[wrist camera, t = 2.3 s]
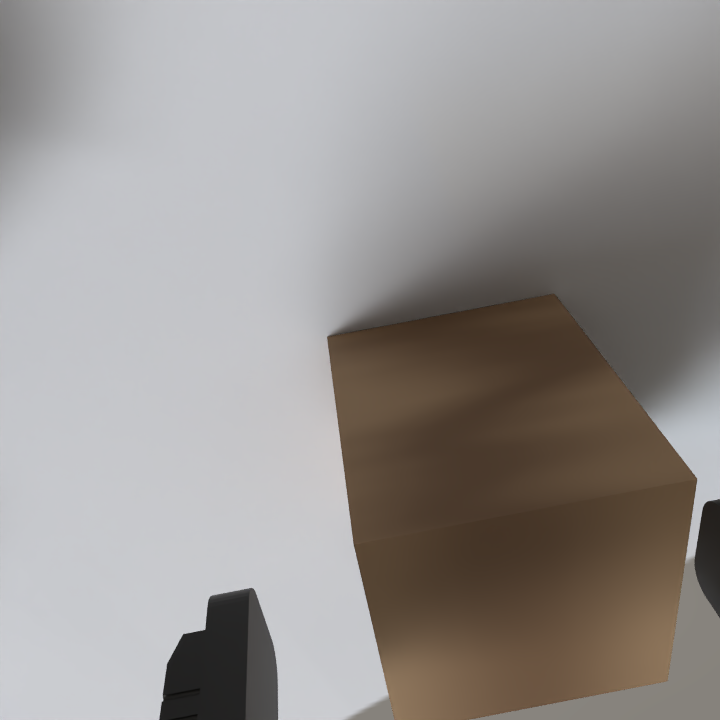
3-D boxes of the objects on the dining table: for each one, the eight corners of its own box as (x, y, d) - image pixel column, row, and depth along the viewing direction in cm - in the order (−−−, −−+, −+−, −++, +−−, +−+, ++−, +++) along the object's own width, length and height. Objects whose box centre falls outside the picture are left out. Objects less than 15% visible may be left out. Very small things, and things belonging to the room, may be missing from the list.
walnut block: (553, 293, 15) (696, 478, 10) (554, 465, 18) (667, 681, 13) (327, 335, 15) (353, 544, 10) (362, 502, 18) (397, 733, 12)
